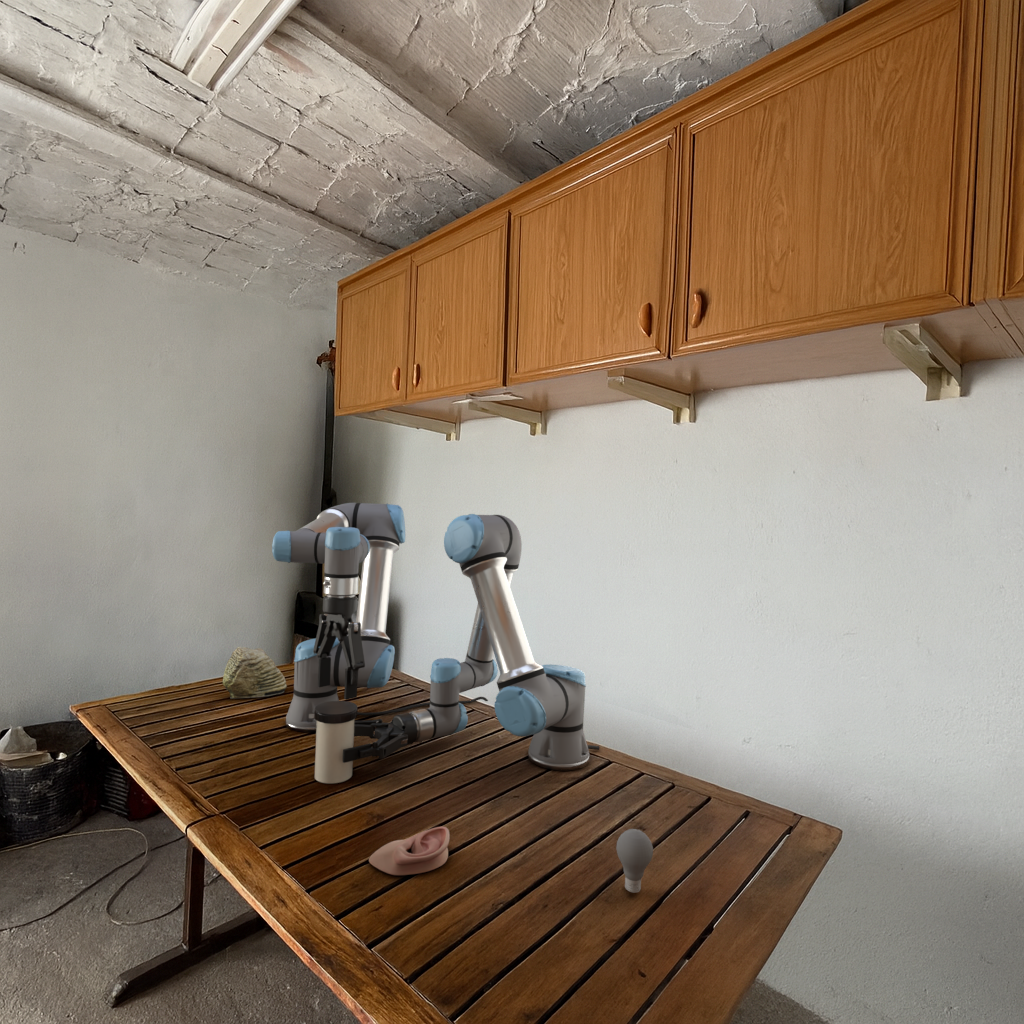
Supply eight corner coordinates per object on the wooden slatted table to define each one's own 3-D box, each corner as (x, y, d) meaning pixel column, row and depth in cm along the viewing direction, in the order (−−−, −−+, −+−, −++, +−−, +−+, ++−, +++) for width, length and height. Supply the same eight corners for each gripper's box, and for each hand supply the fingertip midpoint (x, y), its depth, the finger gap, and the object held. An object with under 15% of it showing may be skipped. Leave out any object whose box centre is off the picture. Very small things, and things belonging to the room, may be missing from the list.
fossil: (218, 695, 195) (220, 647, 195) (278, 685, 208) (279, 640, 207) (228, 703, 189) (230, 653, 188) (289, 692, 201) (290, 645, 201)
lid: (319, 709, 148) (320, 700, 148) (360, 710, 149) (360, 701, 149) (309, 723, 139) (309, 713, 139) (352, 724, 140) (353, 714, 140)
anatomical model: (361, 846, 108) (388, 814, 119) (360, 870, 108) (387, 835, 119) (436, 859, 105) (456, 825, 117) (435, 882, 105) (455, 846, 117)
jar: (319, 767, 148) (321, 702, 148) (355, 767, 149) (358, 703, 148) (310, 783, 140) (312, 715, 139) (348, 783, 140) (351, 716, 140)
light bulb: (610, 879, 108) (613, 822, 108) (644, 879, 109) (647, 822, 109) (619, 902, 102) (622, 840, 102) (655, 901, 103) (658, 840, 103)
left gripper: (300, 589, 149) (296, 682, 149) (354, 604, 133) (349, 708, 133) (329, 587, 154) (325, 677, 155) (384, 601, 138) (380, 701, 138)
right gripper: (437, 759, 149) (354, 782, 135) (386, 727, 168) (308, 744, 154) (439, 728, 149) (355, 747, 135) (387, 699, 168) (309, 714, 154)
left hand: (336, 691), depth 144 cm, fingers open, 11 cm apart
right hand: (330, 746), depth 145 cm, fingers open, 13 cm apart
